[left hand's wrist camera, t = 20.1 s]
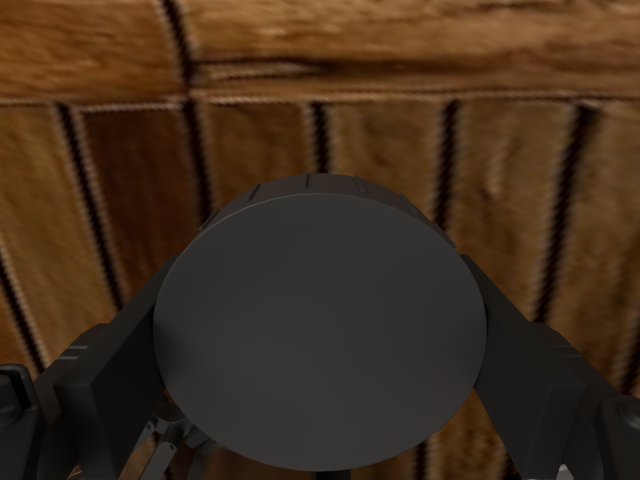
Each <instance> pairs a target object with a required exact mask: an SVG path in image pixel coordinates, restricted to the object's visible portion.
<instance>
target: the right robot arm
mask: <svg viewBox="0 0 640 480" xmlns="http://www.w3.org/2000/svg"><path fill="white" fill-rule="evenodd" d="M168 402H169V399H168V397H167V396H166V395H165V394H162V396H161V398H160V399H159V401H158V403H157V405H156V407H155V409H154V411H153V413H152V415H151V417H150V419H149V420H148V422H147V424H146V426H145V428H144V430H143V432H142V434H141V436H140V438H139V439H138V441H137V443H136V445H135V447H134V449H133V451H132V453H133V452H134V451H135V450H136V449H137V448H138V447H139V446H140V445H141V444H142V443H143V442H144V441H145V440H146V439H147V438H148V437H149V436H150V435H151V434H152V433H153V431H156V432H158V433H160V434H162V437H161V438H160V440H159V442H158V444H157V446H156V448H155V450H154V452H153V454H152V456H151V457H150V459H149V461H148V463H147V465H146V466H145V468H144V470H143V472H142V474H141V476H140V478H139V479H138V480H160V479H161V477H162V475H163V473H164V471H165V470H166V468H167V466H168V464H169V462H170V461H171V459H172V457H173V455H174V453H175V452H177V450H178V447H179V445H180V442H181V440H182V438H183V437H184V436H186V435H187V437H186V439H185V443H186V444H187V445H188V446H189V447H190V448H192V449H193V448H195V447H196V446H198V445H200V444H201V443H203V442H205V441H207V440H208V439H210V437H209V436H208V435H207V434H205V433H204V432H203V431H201V430H200V429H199V428H198V427H197V426H196V425H195V424H194V423H193V422H192V421H191V420H190V419H189V418H188V417H187V416H186V415H185V414H184V413H183V412H182V410H181V409H180V408H179V407H178V406H175V405H172V404H170V403H168ZM132 453H131V454H132ZM68 480H84V479H83V476H82V473H81V470H80V467H79V464H78V466H77V468H76V469H75V471H74V472H73V474H72V475H71V477H70V478H69V479H68ZM316 480H351V474H350V469H345V470H337V471H316Z"/></svg>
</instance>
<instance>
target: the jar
mask: <svg viewBox="0 0 640 480" xmlns="http://www.w3.org/2000/svg"><path fill="white" fill-rule="evenodd" d="M186 480H316V471H304V470H294V469H287V468H281V467H277V466H273V465H269V464H265V463H261V462H258V461H256V460H253V459H250V458H247V457H244V456H242V455H240V454H238V453H236V452H234V451H232V450H230V449H228V448H226V447H225V446H223V445H221V444H220V443H218V442H216V441H215V440H213V439H212V438H210V439H208V440H207V441H205V442H203V443H201V444H200V445H198V448H197V451H196V454H195V456H194V459H193V462H192V465H191V468H190V471H189V473H188V476H187V479H186Z"/></svg>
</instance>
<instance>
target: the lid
mask: <svg viewBox="0 0 640 480" xmlns="http://www.w3.org/2000/svg"><path fill="white" fill-rule="evenodd" d="M199 231H200V233H199V234H198V235H197V236H196V237H195V238H194V240H193V241H192V242H191V243H190V244H189V245H188V247H187V248H186V249H185V250H184V251H183V252H182V254H181V255H180V256H179V257H178V258H177V259H176V261H175V262H174V263H173V264H172V265H171V266H170V268H169V270H170V271H169V272H168V274H167V276H166V277H165V280H164V282H163V285H162V287H161V290H160V292H159V294H158V298H157V302H156V306H155V310H154V315H153V330H152V336H153V347H154V353H155V357H156V362H157V366H158V370H159V372H160V375H161V377H162V379H163V382H164V384H165V386H166V388H167V390H168V391H169V393H170V395H171V397H172V398H173V400H174V402H175V403H176V404H177V405H178V407H179V408H180V409H181V410H182V412H183V413H184V414H185V415H186V416H187V417H188V418H189V419H190V420H191V421H192V422H193V423H194V424H195V425H196V426H197V427H198V428H199V429H200V430H201V431H203V432H204V433H205V434H207V435H208V436H209V437H210V438H212V439H213V440H215V441H216V442H218V443H220V444H221V445H223V446H225V447H226V448H228V449H230V450H232V451H234V452H236V453H238V454H240V455H242V456H244V457H247V458H250V459H253V460H256V461H258V462H261V463H265V464H269V465H273V466H277V467H281V468H287V469H294V470H304V471H337V470H345V469H352V468H358V467H362V466H367V465H371V464H374V463H377V462H381V461H384V460H387V459H390V458H392V457H394V456H396V455H399V454H401V453H403V452H406V451H408V450H409V449H411V448H413V447H414V446H416V445H418V444H420V443H421V442H423V441H424V440H426V439H427V438H429V437H430V436H431V435H433V434H434V433H435V432H437V431H438V430H439V429H440V428H441V427H442V426H443V425H444V424H446V423H447V422H448V421H449V420H450V419H451V418H452V417H453V415H454V414H455V413H456V412H457V411H458V410H459V408H460V407H461V406H462V405H463V403H464V402H465V400H466V398H467V397H468V395H469V394H470V392H471V391H472V389H473V387H474V385H475V382H476V380H477V378H478V376H479V374H480V370H481V367H482V364H483V360H484V355H485V349H486V343H487V319H486V313H485V308H484V302H483V299H482V296H481V293H480V291H479V288H478V285H477V282H476V280H475V279H474V277H473V275H472V273H471V271H470V269H469V268H468V266H467V264H466V263H465V262H464V260H463V259H462V258H461V256H460V255H459V254H458V253H457V251H456V250H455V248H456V247H457V246H456V245H455V244H454V243H453V242H452V241H451V240H450V238H449V237H448V236H447V235H446V234H445V233H444V232H443V231H442V230H441V228H440V227H439V226H438V225H437V224H434V225H433V224H432V222H431V221H430V220H429V219H428V218H427V217H426V216H425V215H424V214H423V213H422V212H421V211H420V210H419V209H417V208H416V207H415V206H414V205H413V204H411V203H410V202H409V201H408V200H407V198H406V197H405V196H404V195H403V194H400V195H398V194H396V193H394V192H392V191H390V190H389V189H387V188H385V187H383V186H380V185H377V184H375V183H372V182H369V181H366V180H364V179H360V178H359V176H357V175H355V176H354V177H350V176H346V175H337V174H325V173H319V174H308V172H304V174H301V175H295V176H290V177H284V178H280V179H277V180H274V181H271V182H267V183H264V184H262V185H259V183H258V184H256V185H255V186H254V187H253V189H251V190H249V191H247V192H245V193H243V194H242V195H240V196H239V197H237V198H236V199H234V200H232V201H231V202H229V203H228V204H227V205H226V206H225V207H223V208H222V209H221V210H219V209H217V210H216V211H215V212H214V213H213V214H212V215H211V216H210V217H209V219H208V220H207V221H206V222H205V223H204V224H203V225H202V226H201V228H200V229H199Z"/></svg>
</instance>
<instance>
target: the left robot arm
mask: <svg viewBox="0 0 640 480" xmlns="http://www.w3.org/2000/svg"><path fill="white" fill-rule="evenodd" d="M180 255H181V254H173V255H172V256H171V257H170V258H169V259H168V260H167V261H166V262H165V263H164V264H163V266H162V267H161V268H160V269H159V270H158V271H157V272H156V273H155V274H154V275H153V276H152V277H151V279H150V280H149V281H148V282H147V283H146V284H145V285H144V286H143V287H142V288H141V289H140V291H139V292H138V293H137V294H136V295H135V296H134V297H133V298H132V299H131V300H130V301H129V302H128V304H127V305H126V306H125V307H124V308H123V309H122V310H121V311H120V312H119V313H118V314H117V316H116V317H115V318H114V319H113V320H112V321H111V322H110V323H109V324H97V325H95V326H94V327H92V328H90V329H89V330H87V331H86V332H84V333H82V334H81V335H80V336H79V337H78V338H77V339H76V340H75V341H74V342H73V343H72V344H71V345H70V346H69V349H66V350H65V351H64V352H63V353H62V354H61V355H60V356H59V357H58V360H55V361H54V362H53V363H52V364H51V365H50V366H49V367H48V368H47V369H46V370H45V371H44V372H43V373H42V374H41V375H40V376H39V377H38V378H37V379H36V380H35V381H34V382H32V379H31V376H30V373H29V370H28V368H26V367H25V366H23V365H22V364H12V363H9V364H3V365H0V480H67V478H68V476H69V475H70V473H71V472H72V470H73V469H74V467H75V465H76V464H77V462H78V464H79V467H80V470H81V473H82V476H83V479H84V480H117V479H118V478H119V476H120V474H121V472H122V470H123V468H124V466H125V464H126V462H127V460H128V458H129V457H130V455H131V453H132V451H133V449H134V447H135V445H136V443H137V441H138V439H139V438H140V436H141V434H142V432H143V430H144V428H145V426H146V424H147V422H148V420H149V419H150V417H151V415H152V413H153V411H154V409H155V407H156V405H157V403H158V401H159V399H160V398H161V396H162V394H163V392H164V390H165V388H166V386H165V384H164V382H163V379H162V377H161V375H160V372H159V370H158V366H157V362H156V357H155V353H154V347H153V336H152V330H153V315H154V310H155V306H156V302H157V298H158V294H159V292H160V290H161V287H162V285H163V282H164V280H165V277H166V276H167V274H168V272H169V271H170V270H169V268H170V266H171V265H172V264H173V263H174V262H175V261H176V259H177V258H178V257H179V256H180ZM459 255H460V256H461V258H462V259H463V260H464V262H465V263H466V264H467V266H468V268H469V269H470V271H471V273H472V275H473V277H474V279H475V280H476V282H477V285H478V288H479V291H480V293H481V296H482V299H483V302H484V308H485V313H486V319H487V343H486V349H485V355H484V360H483V364H482V367H481V370H480V374H479V376H478V378H477V380H476V382H475V385H474V389H475V390H476V392H477V394H478V396H479V398H480V400H481V402H482V404H483V406H484V408H485V409H486V411H487V413H488V415H489V417H490V419H491V421H492V423H493V425H494V427H495V429H496V430H497V432H498V434H499V436H500V438H501V440H502V442H503V444H504V446H505V448H506V449H507V451H508V453H509V455H510V457H511V459H512V461H513V463H514V465H515V467H516V468H517V470H518V472H519V473H517V474H516V475H515V476H513V477H512V478H511V479H510V480H640V399H639V398H636V397H633V396H629V395H623V394H620V393H619V392H618V391H617V390H616V389H615V388H614V387H613V386H612V385H611V384H610V383H609V382H608V381H607V380H606V379H605V378H604V377H603V376H602V375H601V374H600V373H599V372H598V371H597V370H596V369H595V368H594V367H593V366H592V365H591V364H590V363H589V362H588V361H587V360H586V359H585V358H582V355H581V354H580V353H579V352H578V351H577V350H576V349H575V348H572V347H571V344H570V343H569V342H568V341H567V340H566V339H565V338H564V337H563V336H562V335H561V334H560V333H558V332H557V331H555V330H553V329H552V328H550V327H548V326H547V325H545V324H543V323H542V322H529V321H528V320H527V319H526V318H525V317H524V316H523V315H522V314H521V313H520V311H519V310H518V309H517V308H516V307H515V306H514V305H513V304H512V303H511V302H510V301H509V299H508V298H507V297H506V296H505V295H504V294H503V293H502V292H501V291H500V290H499V289H498V288H497V286H496V285H495V284H494V283H493V282H492V281H491V280H490V279H489V278H488V277H487V276H486V274H485V273H484V272H483V271H482V270H481V269H480V268H479V267H478V266H477V265H476V264H475V263H474V261H473V260H472V259H471V258H470V257H469V256H468V255H467V254H459Z"/></svg>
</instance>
